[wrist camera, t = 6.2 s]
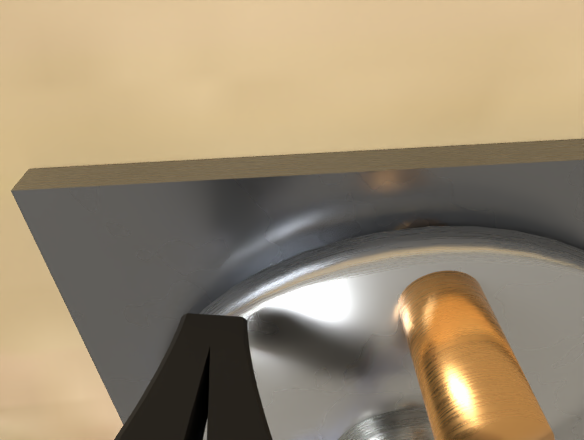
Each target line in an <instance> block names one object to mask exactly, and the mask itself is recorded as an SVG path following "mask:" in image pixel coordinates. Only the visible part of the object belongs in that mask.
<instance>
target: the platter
mask: <svg viewBox="0 0 584 440" xmlns="http://www.w3.org/2000/svg"><path fill="white" fill-rule="evenodd" d="M200 314H209V315H224V316H240V317H244V318H245V319H246V320H247V321H248V339H249V347H250V353H251V359H252V364H253V369H254V374H255V379H256V383H257V387H258V391H259V395H260V398H261V402H262V406H263V409H264V413H265V417H266V420H267V423H268V427H269V430H270V433H271V436H272V439H273V440H338V439H339V438H340V437H341V436H342V435H343V434H344V433H345V432H347V431H348V430H349V429H351V428H352V427H354V426H355V425H357V424H359V423H361V422H363V421H365V420H367V419H370V418H372V417H374V416H377V415H380V414H383V413H387V412H391V411H395V410H399V409H405V408H412V407H422V406H425V408H426V411H427V415H428V418H429V422H430V426H431V429H432V433H433V436H434V440H584V251H583V250H580V249H578V248H575V247H573V246H570V245H567V244H565V243H562V242H559V241H557V240H554V239H550V238H546V237H542V236H537V235H533V234H529V233H524V232H520V231H515V230H506V229H497V228H487V227H478V226H428V227H418V228H409V229H399V230H390V231H383V232H378V233H373V234H368V235H364V236H359V237H354V238H349V239H344V240H340V241H337V242H334V243H331V244H328V245H324V246H321V247H318V248H315V249H312V250H309V251H305V252H302V253H300V254H297V255H295V256H293V257H290V258H288V259H286V260H283V261H281V262H279V263H277V264H274V265H272V266H270V267H267V268H265V269H263V270H261V271H260V272H258V273H256V274H254V275H253V276H251V277H249V278H247V279H246V280H244V281H242V282H241V283H239V284H237V285H235V286H234V287H232V288H231V289H229V290H228V291H227V292H225V293H224V294H223V295H221V296H220V297H219V298H217V299H216V300H215V301H213V302H212V303H211V304H210V305H208V306H207V307H206V308H204V309H203V311H202V312H201V313H200ZM203 440H207V423H206V428H205V432H204V437H203Z"/></svg>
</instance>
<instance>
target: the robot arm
mask: <svg viewBox="0 0 584 440" xmlns="http://www.w3.org/2000/svg"><path fill="white" fill-rule="evenodd" d="M206 423H207V440H273V439H272V436H271V433H270V430H269V427H268V423H267V420H266V417H265V413H264V409H263V406H262V402H261V398H260V395H259V391H258V387H257V383H256V379H255V374H254V369H253V364H252V359H251V353H250V347H249V339H248V321H247V320H246V319H245V318H244V317H240V316H224V315H209V314H193V313H186V314H185V315H183V316H182V317H181V320H180V323H179V325H178V328H177V330H176V332H175V335H174V337H173V339H172V341H171V344H170V346H169V348H168V350H167V352H166V354H165V356H164V358H163V359H162V361H161V363H160V365H159V367H158V369H157V371H156V373H155V374H154V376H153V378H152V380H151V381H150V383H149V385H148V386H147V388H146V390H145V392H144V393H143V395H142V397H141V399H140V400H139V402H138V404H137V405H136V407H135V408H134V410H133V412H132V413H131V415H130V416H129V418H128V419H127V421H126V422H125V424H124V425H123V427H122V428H121V430H120V432H119V433H118V435H117V436H116V438H115V439H114V440H203V437H204V432H205V428H206Z"/></svg>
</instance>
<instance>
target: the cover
mask: <svg viewBox="0 0 584 440" xmlns="http://www.w3.org/2000/svg"><path fill="white" fill-rule="evenodd" d="M338 440H434V436H433V433H432V429H431V426H430V422H429V418H428V415H427V411H426V408H425V406H422V407H412V408H405V409H399V410H395V411H391V412H387V413H383V414H380V415H377V416H374V417H372V418H370V419H367V420H365V421H363V422H361V423H359V424H357V425H355V426H354V427H352V428H351V429H349V430H348V431H347V432H345V433H344V434H343V435H342V436H341V437H340V438H339V439H338Z"/></svg>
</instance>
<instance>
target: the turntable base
mask: <svg viewBox="0 0 584 440" xmlns="http://www.w3.org/2000/svg"><path fill="white" fill-rule="evenodd" d="M11 192H12V194H13V196H14V198H15V200H16V202H17V204H18V206H19V208H20V210H21V213H22V215H23V217H24V219H25V221H26V223H27V225H28V227H29V229H30V231H31V233H32V235H33V237H34V240H35V242H36V244H37V246H38V248H39V250H40V252H41V254H42V256H43V258H44V260H45V262H46V265H47V267H48V269H49V271H50V273H51V275H52V277H53V279H54V281H55V283H56V285H57V287H58V289H59V292H60V294H61V296H62V298H63V300H64V302H65V304H66V306H67V308H68V310H69V312H70V314H71V316H72V319H73V321H74V323H75V325H76V327H77V329H78V331H79V333H80V335H81V337H82V339H83V341H84V344H85V346H86V348H87V350H88V352H89V354H90V356H91V358H92V360H93V362H94V364H95V366H96V368H97V371H98V373H99V375H100V377H101V379H102V381H103V383H104V385H105V387H106V389H107V391H108V393H109V396H110V398H111V400H112V402H113V404H114V406H115V408H116V410H117V412H118V414H119V416H120V418H121V420H122V423H123V425H124V424H125V422H126V421H127V419H128V418H129V416H130V415H131V413H132V412H133V410H134V408H135V407H136V405H137V404H138V402H139V400H140V399H141V397H142V395H143V393H144V392H145V390H146V388H147V386H148V385H149V383H150V381H151V380H152V378H153V376H154V374H155V373H156V371H157V369H158V367H159V365H160V363H161V361H162V359H163V358H164V356H165V354H166V352H167V350H168V348H169V346H170V344H171V341H172V339H173V337H174V335H175V332H176V330H177V328H178V325H179V323H180V320H181V317H182V316H183V315H185V314H186V313H193V314H200V313H201V312H202V311H203V309H204V308H206V307H207V306H208V305H210V304H211V303H212V302H213V301H215V300H216V299H217V298H219V297H220V296H221V295H223V294H224V293H225V292H227V291H228V290H229V289H231V288H232V287H234V286H235V285H237V284H239V283H241V282H242V281H244V280H246V279H247V278H249V277H251V276H253V275H254V274H256V273H258V272H260V271H261V270H263V269H265V268H267V267H270V266H272V265H274V264H277V263H279V262H281V261H283V260H286V259H288V258H290V257H293V256H295V255H297V254H300V253H302V252H305V251H309V250H312V249H315V248H318V247H321V246H324V245H328V244H331V243H334V242H337V241H340V240H344V239H349V238H354V237H359V236H364V235H368V234H373V233H378V232H383V231H390V230H399V229H409V228H418V227H428V226H478V227H487V228H497V229H506V230H515V231H520V232H524V233H529V234H533V235H537V236H542V237H546V238H550V239H554V240H557V241H559V242H562V243H565V244H567V245H570V246H573V247H575V248H578V249H580V250H583V251H584V139H574V140H556V141H537V142H519V143H500V144H482V145H464V146H445V147H427V148H408V149H390V150H371V151H353V152H334V153H316V154H298V155H279V156H261V157H242V158H224V159H205V160H187V161H169V162H150V163H132V164H113V165H95V166H76V167H58V168H39V169H29V170H28V171H27V172H26V173H25V174H24V176H23V177H22V178H21V179H20V180H19V182H18V183H17V184H16V185H15V186H14V188H13V189H12V190H11Z"/></svg>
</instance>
